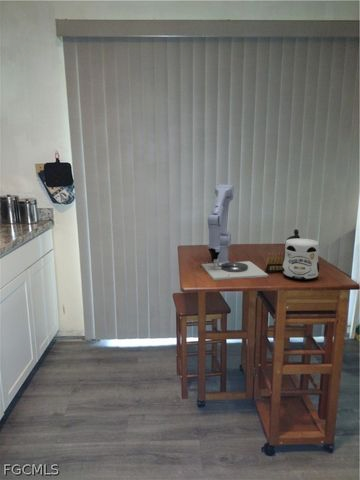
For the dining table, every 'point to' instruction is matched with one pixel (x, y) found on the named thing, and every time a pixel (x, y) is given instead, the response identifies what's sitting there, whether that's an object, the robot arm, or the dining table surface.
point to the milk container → (301, 259)
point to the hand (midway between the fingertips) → (214, 262)
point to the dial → (231, 266)
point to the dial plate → (222, 275)
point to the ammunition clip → (274, 263)
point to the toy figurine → (294, 235)
